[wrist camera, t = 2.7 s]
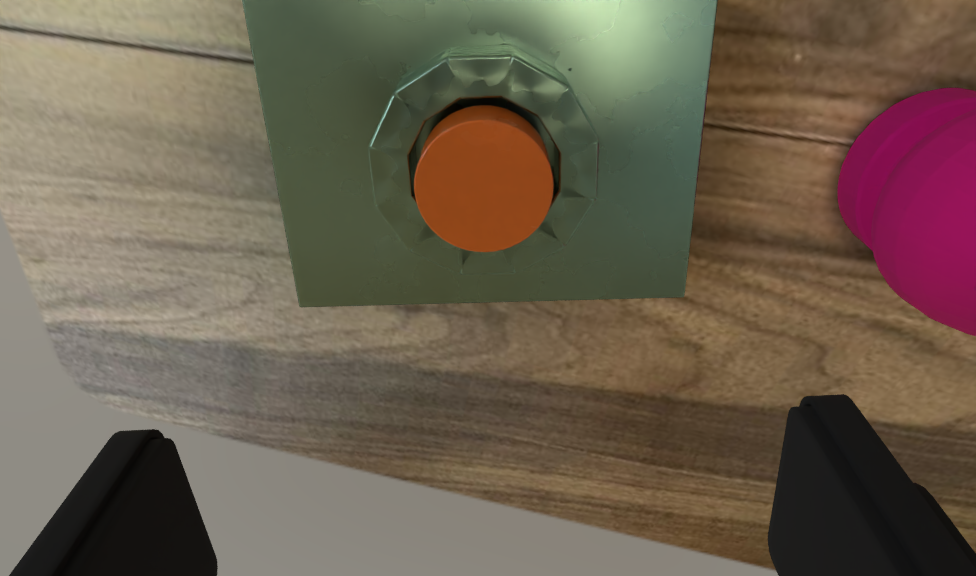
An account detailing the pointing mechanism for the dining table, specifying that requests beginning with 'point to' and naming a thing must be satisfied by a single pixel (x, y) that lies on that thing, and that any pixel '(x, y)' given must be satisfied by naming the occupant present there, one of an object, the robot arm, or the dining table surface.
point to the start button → (484, 179)
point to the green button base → (471, 82)
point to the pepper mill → (919, 201)
